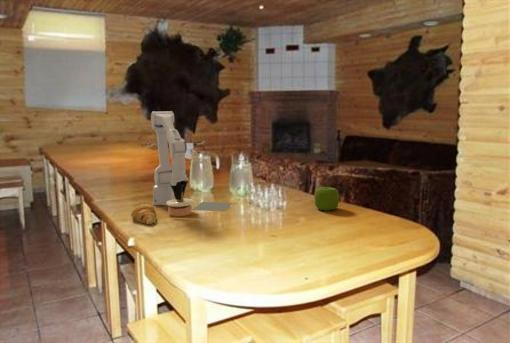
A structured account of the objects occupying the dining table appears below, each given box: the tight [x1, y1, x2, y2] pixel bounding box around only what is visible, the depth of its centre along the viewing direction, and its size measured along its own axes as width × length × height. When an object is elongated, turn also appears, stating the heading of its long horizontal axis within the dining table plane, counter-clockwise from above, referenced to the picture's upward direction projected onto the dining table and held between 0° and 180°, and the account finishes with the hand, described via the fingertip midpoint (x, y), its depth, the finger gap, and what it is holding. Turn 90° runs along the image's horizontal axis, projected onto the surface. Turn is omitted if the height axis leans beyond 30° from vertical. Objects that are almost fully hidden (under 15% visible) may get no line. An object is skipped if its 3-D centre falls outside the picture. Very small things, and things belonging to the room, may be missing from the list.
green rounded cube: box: [314, 186, 340, 212], centre depth 202 cm, size 11×11×11 cm
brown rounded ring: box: [167, 205, 193, 217], centre depth 195 cm, size 10×10×4 cm
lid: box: [165, 192, 195, 207], centre depth 194 cm, size 12×12×5 cm
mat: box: [192, 201, 233, 212], centre depth 207 cm, size 15×15×1 cm
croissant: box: [130, 203, 158, 225], centre depth 187 cm, size 21×10×8 cm, turn 30°
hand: (179, 198), depth 194 cm, fingers closed on lid, 3 cm apart
